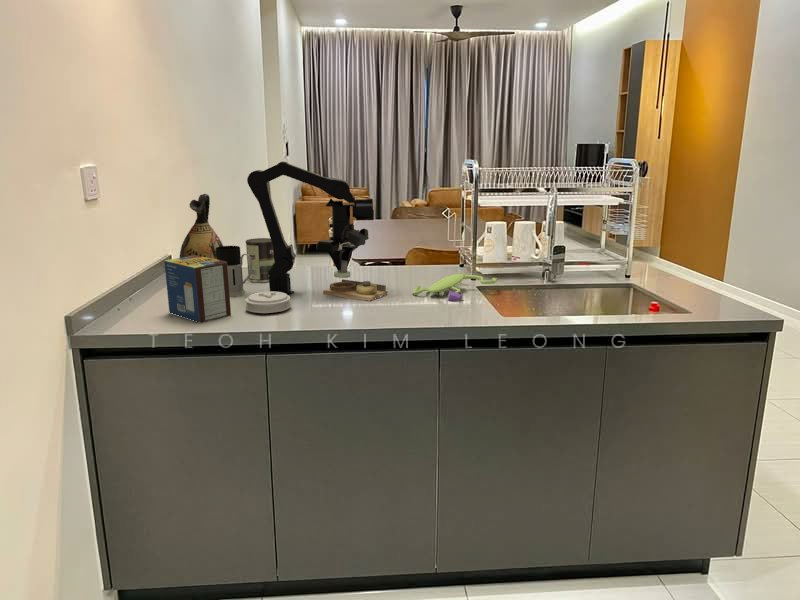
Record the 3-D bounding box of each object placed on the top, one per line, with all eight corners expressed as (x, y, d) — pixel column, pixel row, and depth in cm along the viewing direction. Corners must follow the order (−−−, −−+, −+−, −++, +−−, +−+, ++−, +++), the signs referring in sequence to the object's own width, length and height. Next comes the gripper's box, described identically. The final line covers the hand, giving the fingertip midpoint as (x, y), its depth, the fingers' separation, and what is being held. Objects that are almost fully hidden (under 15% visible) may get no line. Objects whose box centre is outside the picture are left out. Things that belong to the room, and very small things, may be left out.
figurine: (504, 292, 198) (505, 276, 197) (445, 306, 182) (445, 288, 181) (464, 283, 212) (465, 267, 211) (406, 294, 196) (406, 277, 194)
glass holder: (231, 289, 201) (228, 244, 198) (263, 294, 194) (260, 248, 191) (211, 294, 194) (207, 248, 190) (243, 300, 187) (240, 252, 183)
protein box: (200, 306, 181) (196, 254, 177) (231, 315, 171) (228, 261, 167) (168, 313, 173) (163, 260, 169) (199, 323, 163) (194, 267, 159)
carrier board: (369, 301, 186) (369, 286, 185) (323, 294, 195) (322, 280, 194) (387, 294, 194) (387, 280, 193) (341, 287, 203) (341, 274, 202)
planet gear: (343, 278, 192) (344, 262, 191) (330, 276, 195) (331, 261, 194) (353, 276, 196) (353, 261, 195) (340, 274, 199) (340, 259, 198)
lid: (243, 306, 181) (242, 290, 179) (286, 303, 185) (285, 287, 184) (249, 318, 169) (248, 300, 168) (294, 313, 173) (293, 296, 172)
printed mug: (280, 276, 221) (278, 237, 217) (274, 282, 211) (271, 242, 207) (252, 276, 221) (249, 237, 218) (244, 282, 211) (241, 242, 208)
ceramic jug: (219, 285, 207) (213, 196, 200) (174, 284, 208) (166, 196, 200) (234, 274, 224) (228, 192, 216) (192, 274, 224) (185, 192, 216)
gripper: (344, 225, 179) (345, 277, 183) (378, 219, 195) (379, 267, 199) (314, 223, 185) (316, 273, 189) (350, 217, 200) (351, 263, 204)
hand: (342, 269), depth 195 cm, fingers closed on planet gear, 3 cm apart
